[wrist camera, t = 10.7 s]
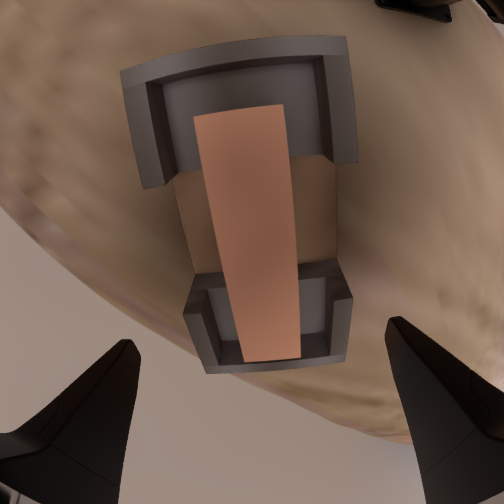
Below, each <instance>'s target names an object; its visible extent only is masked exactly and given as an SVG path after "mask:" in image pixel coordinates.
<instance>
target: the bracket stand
mask: <svg viewBox="0 0 504 504" xmlns="http://www.w3.org/2000/svg"><path fill="white" fill-rule="evenodd" d="M120 76H121V83H122V89H123V95H124V101H125V107H126V113H127V118H128V123H129V128H130V133H131V138H132V143H133V148H134V152H135V157H136V161H137V165H138V170H139V174H140V178H141V182H142V186H143V189H148V188H153V187H158V186H163V185H166V184H167V183H168V182H169V181H170V180H171V179H172V183H173V188H174V192H175V197H176V201H177V205H178V209H179V213H180V217H181V221H182V225H183V229H184V233H185V237H186V241H187V245H188V248H189V252H190V256H191V260H192V263H193V267H194V270H195V277H194V280H193V283H192V287H191V290H190V293H189V296H188V299H187V302H186V305H185V308H184V311H183V317H184V320H185V322H186V325H187V328H188V330H189V333H190V335H191V338H192V340H193V343H194V345H195V348H196V350H197V353H198V355H199V358H200V360H201V362H202V365H203V367H204V369H205V372H206V374H217V373H218V374H221V373H246V372H262V371H275V370H286V369H296V368H305V367H313V366H320V365H327V364H334V363H341V362H345V357H346V351H347V344H348V337H349V330H350V322H351V314H352V305H353V296H352V294H351V292H350V289H349V287H348V284H347V282H346V280H345V277H344V275H343V273H342V271H341V268H340V266H339V264H338V261H337V195H336V169H335V164H341V163H358V148H357V130H356V116H355V104H354V94H353V85H352V76H351V69H350V61H349V55H348V48H347V42H346V36H326V35H305V36H281V37H268V38H258V39H249V40H241V41H234V42H228V43H222V44H216V45H211V46H206V47H201V48H196V49H192V50H187V51H183V52H179V53H175V54H171V55H168V56H164V57H161V58H157V59H154V60H151V61H147V62H144V63H141V64H138V65H135V66H132V67H130V68H127V69H124V70H121V71H120ZM279 104H283V109H284V117H285V125H286V134H287V143H288V153H289V162H290V173H291V184H292V195H293V207H294V220H295V234H296V249H297V266H298V286H299V310H300V343H301V358H291V359H281V360H269V361H256V362H244V358H243V354H242V350H241V346H240V342H239V338H238V333H237V329H236V325H235V321H234V317H233V312H232V308H231V304H230V299H229V295H228V290H227V286H226V282H225V277H224V273H223V268H222V263H221V259H220V254H219V249H218V245H217V240H216V235H215V230H214V225H213V221H212V216H211V211H210V206H209V201H208V195H207V190H206V185H205V180H204V175H203V169H202V164H201V158H200V153H199V147H198V142H197V136H196V130H195V125H194V119H193V117H195V116H200V115H206V114H211V113H217V112H223V111H229V110H236V109H243V108H251V107H259V106H269V105H279Z"/></svg>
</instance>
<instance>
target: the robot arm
mask: <svg viewBox="0 0 504 504" xmlns="http://www.w3.org/2000/svg"><path fill="white" fill-rule="evenodd" d="M375 1H376V3H377V5H378V6H380V7H382V8H387V9H392V10H397V11H402V12H407V13H411V14H415V15H419V16H423V17H427V18H431V19H434V20H438V21H441V22H444V23H449V22H451V21H452V17H451V13H450V9H449V4H452V3H455V2H459V1H462V0H384V1H385V3H383V2H382V1H381V0H375ZM476 1H477V2H478V4H480V6H481V7H482V8H483V9H484V10H485V11H486V13H487V15H488V17H489V18H490V19H491V20H492V21H493V22H495V23H501V24H504V0H476ZM444 15H445V16H446V18H447V19H446V18H445V16H444ZM385 343H386V347H387V351H388V355H389V360H390V364H391V369H392V373H393V378H394V381H395V384H396V387H397V390H398V393H399V396H400V399H401V403H402V406H403V409H404V413H405V416H406V419H407V423H408V426H409V430H410V433H411V437H412V441H413V445H414V448H415V452H416V456H417V461H418V465H419V469H420V474H421V479H422V483H423V488H424V494H425V499H426V504H504V392H502V391H501V390H499V389H498V388H496V387H495V386H493V385H492V384H490V383H489V382H487V381H486V380H485V379H483V378H482V377H481V376H479V375H478V374H477V373H475V372H474V371H473V370H472V369H471V370H470V368H469V367H468V366H466V365H465V364H464V363H463V362H461V361H460V360H459V359H457V358H456V357H455V356H454V355H452V354H451V353H450V352H448V351H447V350H446V349H444V348H443V347H442V346H440V345H439V344H438V343H436V342H435V341H434V340H432V339H431V338H430V337H428V336H427V335H426V334H424V333H423V332H422V331H420V330H419V329H418V328H416V327H415V326H414V325H412V324H411V323H410V322H408V321H407V320H405V319H404V318H403V317H401V316H396V317H391V318H389V320H388V323H387V328H386V332H385ZM140 364H141V355H140V353H139V351H138V350H137V347H136V346H135V344H134V342H133V341H132V340H130V339H122V340H120V341H119V342H118V343H116V345H114V346H113V347H112V348H111V349H110V350H109V351H107V352H106V353H105V354H104V355H103V356H102V357H101V358H100V359H98V360H97V361H96V362H95V363H94V364H93V365H92V366H91V367H89V368H88V369H87V370H86V371H85V372H84V373H83V374H82V375H80V376H79V377H78V378H77V379H76V380H75V381H74V382H73V383H72V384H70V385H69V386H68V387H67V388H66V389H65V390H64V391H63V392H62V393H60V395H58V396H57V397H56V398H55V399H54V400H53V401H52V402H51V403H49V404H48V405H47V406H46V407H45V408H44V409H42V410H41V411H40V412H39V413H38V414H36V415H35V416H33V417H32V418H31V419H30V420H29V421H27V422H26V423H24V424H23V425H22V426H20V427H19V428H18V429H16V430H14V431H12V432H9V433H0V504H118V499H119V491H120V483H121V476H122V469H123V462H124V457H125V451H126V445H127V440H128V434H129V429H130V424H131V419H132V414H133V410H134V405H135V400H136V395H137V388H138V379H139V372H140Z"/></svg>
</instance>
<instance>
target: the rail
mask: <svg viewBox="0 0 504 504" xmlns="http://www.w3.org/2000/svg"><path fill="white" fill-rule="evenodd" d="M193 119H194V125H195V130H196V136H197V142H198V147H199V153H200V158H201V164H202V169H203V175H204V180H205V185H206V190H207V195H208V201H209V206H210V211H211V216H212V221H213V225H214V230H215V235H216V240H217V245H218V249H219V254H220V259H221V263H222V268H223V273H224V277H225V282H226V286H227V290H228V295H229V299H230V304H231V308H232V312H233V317H234V321H235V325H236V329H237V333H238V338H239V342H240V346H241V350H242V354H243V358H244V362H256V361H269V360H281V359H291V358H301V343H300V310H299V286H298V266H297V249H296V234H295V220H294V207H293V195H292V184H291V173H290V162H289V153H288V143H287V134H286V125H285V117H284V109H283V104H279V105H269V106H259V107H251V108H243V109H236V110H229V111H223V112H217V113H211V114H206V115H200V116H195V117H193Z"/></svg>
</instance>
